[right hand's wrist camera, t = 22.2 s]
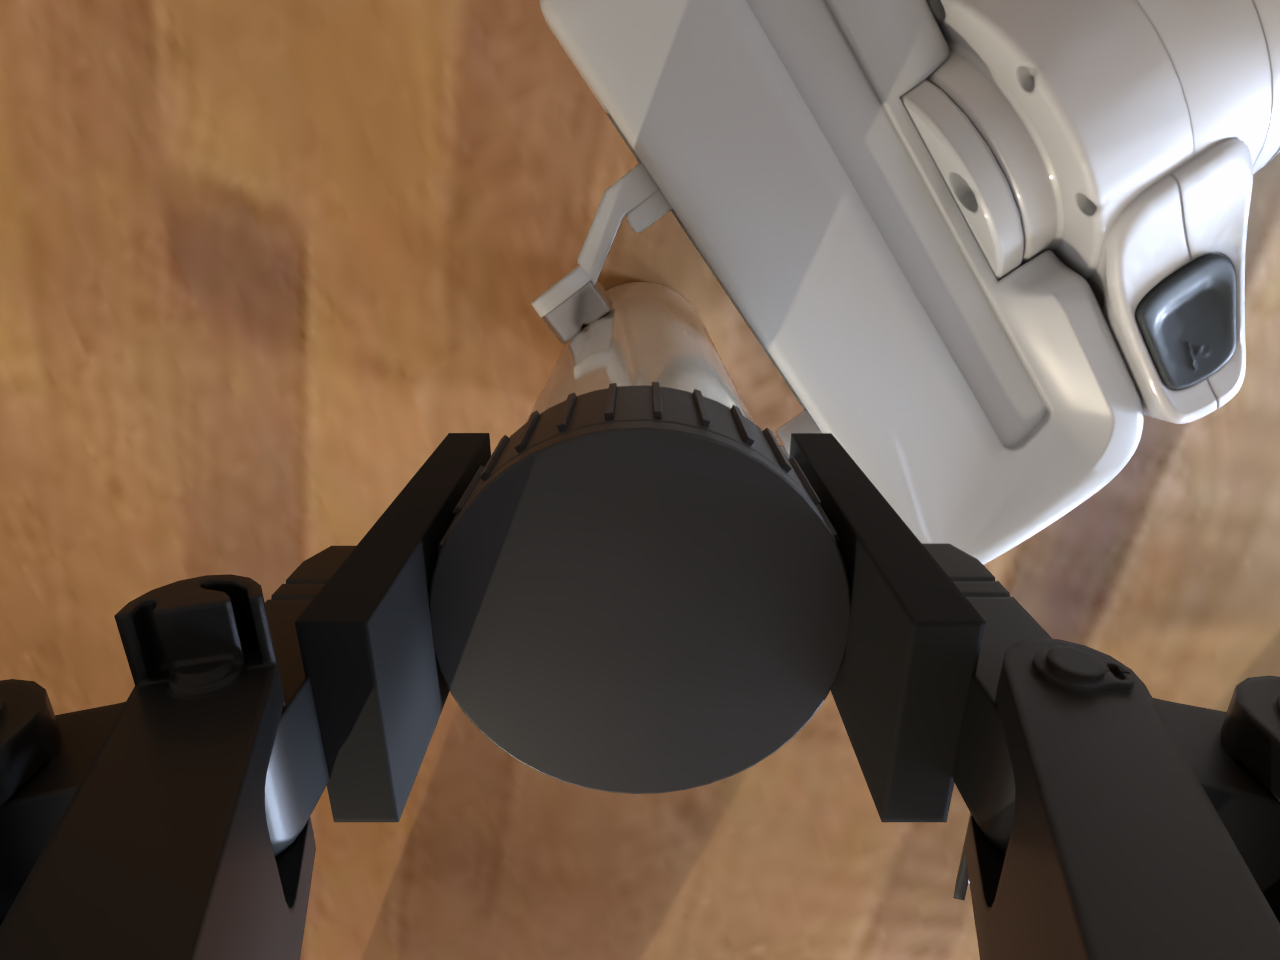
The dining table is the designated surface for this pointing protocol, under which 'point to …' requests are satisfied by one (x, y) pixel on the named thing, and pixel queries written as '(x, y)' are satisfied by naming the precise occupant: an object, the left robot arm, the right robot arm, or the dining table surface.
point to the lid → (639, 593)
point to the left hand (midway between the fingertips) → (617, 412)
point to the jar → (642, 350)
